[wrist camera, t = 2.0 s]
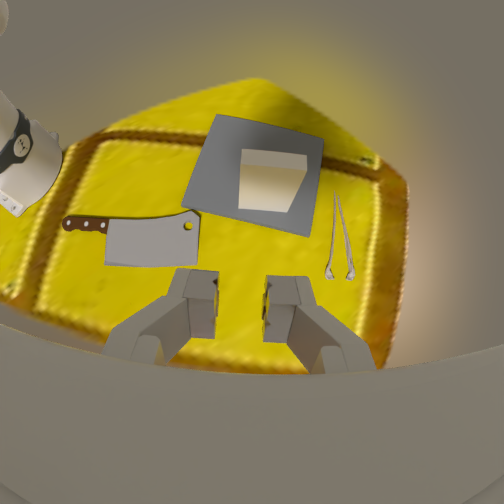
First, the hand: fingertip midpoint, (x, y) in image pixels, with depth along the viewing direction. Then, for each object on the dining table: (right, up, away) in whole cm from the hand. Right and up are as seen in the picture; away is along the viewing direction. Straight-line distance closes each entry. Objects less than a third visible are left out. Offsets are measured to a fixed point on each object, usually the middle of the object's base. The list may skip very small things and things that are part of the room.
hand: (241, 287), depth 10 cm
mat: (+1, +14, +32) cm, 35 cm away
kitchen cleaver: (-19, +3, +28) cm, 34 cm away
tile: (+2, +8, +30) cm, 31 cm away
